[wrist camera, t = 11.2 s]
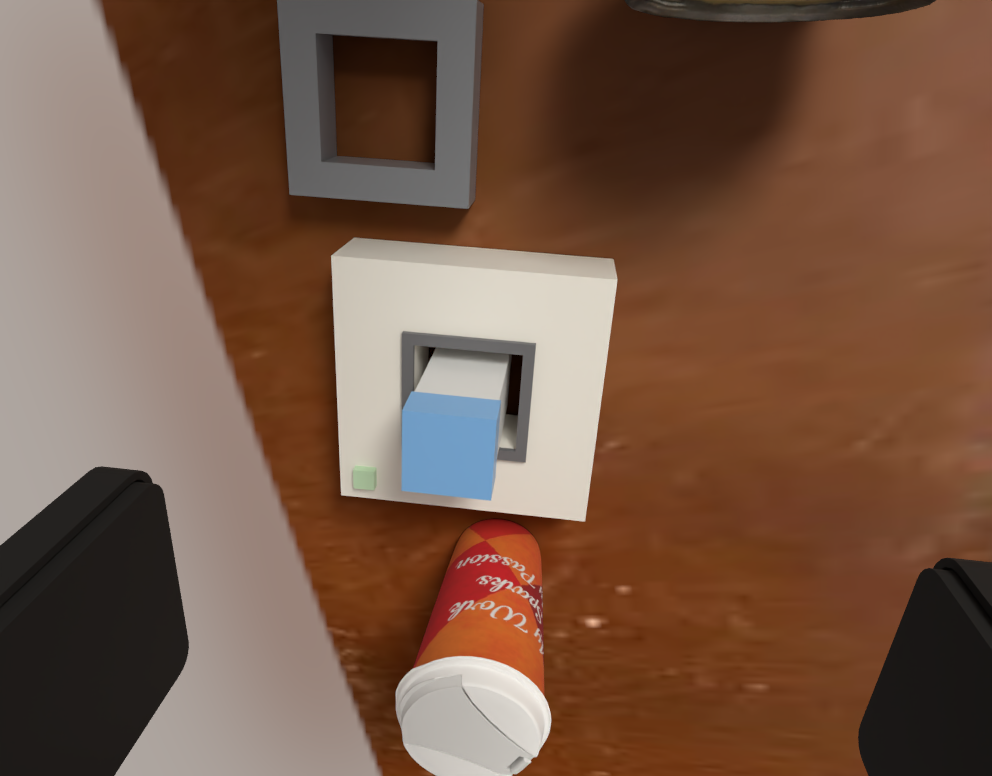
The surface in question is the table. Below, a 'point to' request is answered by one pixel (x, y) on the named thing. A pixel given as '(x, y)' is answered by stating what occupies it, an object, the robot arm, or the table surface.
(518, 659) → the paper cup
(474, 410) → the plug
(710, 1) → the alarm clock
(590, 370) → the port panel
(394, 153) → the table surface
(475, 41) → the grey square frame
